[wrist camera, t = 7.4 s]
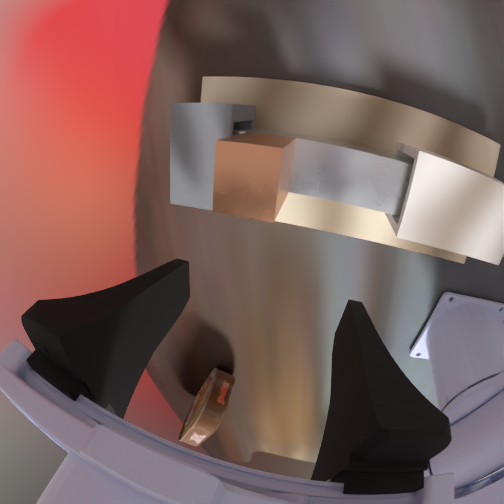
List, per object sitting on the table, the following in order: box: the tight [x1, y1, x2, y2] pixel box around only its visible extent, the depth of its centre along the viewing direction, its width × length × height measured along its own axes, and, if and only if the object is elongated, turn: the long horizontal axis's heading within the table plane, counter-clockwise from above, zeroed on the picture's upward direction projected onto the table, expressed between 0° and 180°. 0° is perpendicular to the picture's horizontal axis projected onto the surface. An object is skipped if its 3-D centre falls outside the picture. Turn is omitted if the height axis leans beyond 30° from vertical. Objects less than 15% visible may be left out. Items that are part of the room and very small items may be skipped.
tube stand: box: [201, 76, 504, 265], centre depth 15 cm, size 22×10×5 cm, turn 85°
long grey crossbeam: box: [212, 126, 414, 223], centre depth 13 cm, size 14×3×8 cm, turn 85°
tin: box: [179, 368, 235, 446], centre depth 30 cm, size 15×3×8 cm, turn 156°
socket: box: [170, 103, 256, 210], centre depth 16 cm, size 4×6×5 cm, turn 175°
